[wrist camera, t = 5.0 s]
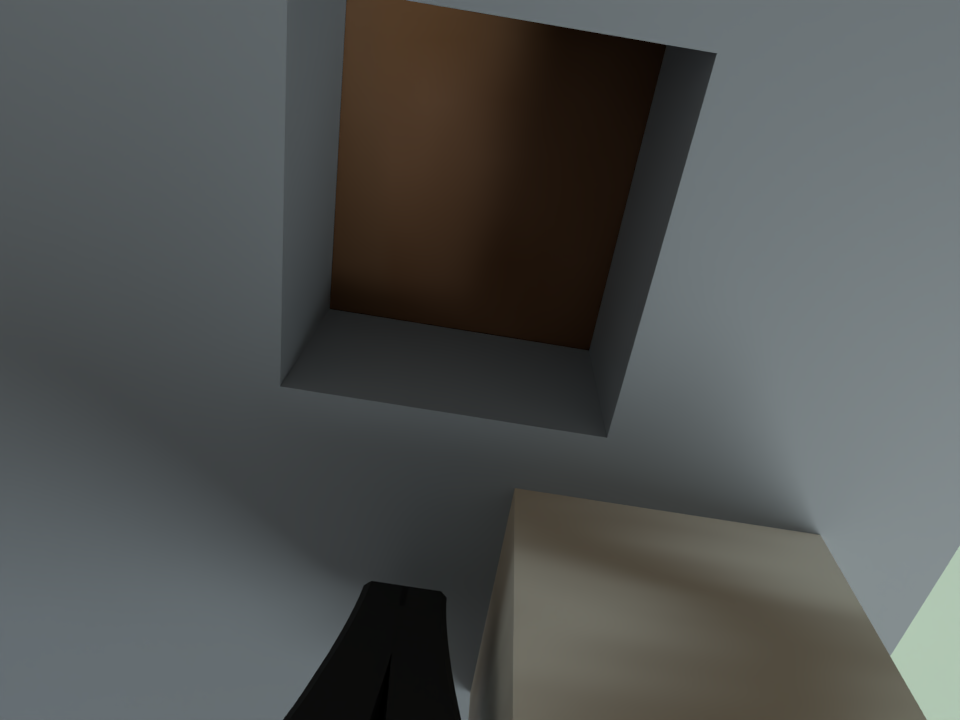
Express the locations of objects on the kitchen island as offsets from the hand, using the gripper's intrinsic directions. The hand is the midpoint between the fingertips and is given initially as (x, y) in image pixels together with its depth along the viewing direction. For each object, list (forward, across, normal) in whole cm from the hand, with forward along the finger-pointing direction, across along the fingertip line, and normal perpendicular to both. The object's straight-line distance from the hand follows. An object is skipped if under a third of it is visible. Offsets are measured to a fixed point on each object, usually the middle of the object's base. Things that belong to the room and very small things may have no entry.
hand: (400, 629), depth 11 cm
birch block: (+1, -4, 0) cm, 4 cm away
